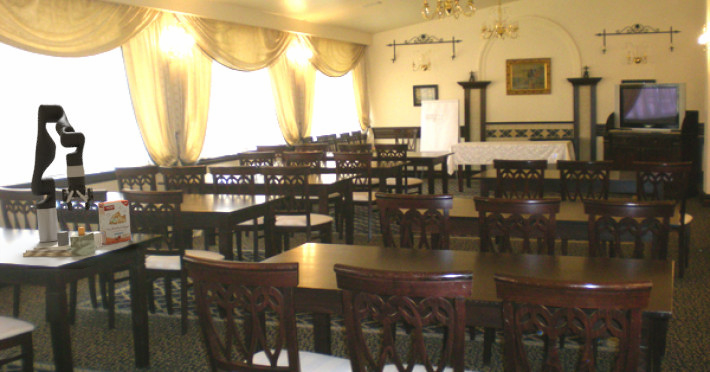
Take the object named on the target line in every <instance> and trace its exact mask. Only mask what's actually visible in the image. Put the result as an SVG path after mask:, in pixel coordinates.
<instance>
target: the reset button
mask: <svg viewBox="0 0 710 372" xmlns="http://www.w3.org/2000/svg"><path fill="white" fill-rule="evenodd" d="M77 232H78V234H79V235H85V233H86V229H85V226H81V227H80V226H79V227H78V228H77Z"/></svg>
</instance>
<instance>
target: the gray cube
mask: <svg viewBox="0 0 710 372" xmlns="http://www.w3.org/2000/svg"><path fill="white" fill-rule="evenodd" d="M69 235H70V234H69V230H65V231H64V230H62V231H59V233H57V240H56V241H57V244H54V245H51V246H49V247H50V250H68V249H70V248H71V243H70V236H69Z"/></svg>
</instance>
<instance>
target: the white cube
mask: <svg viewBox="0 0 710 372" xmlns="http://www.w3.org/2000/svg"><path fill="white" fill-rule="evenodd" d="M88 233H94V244H95V248H100V247H102V244H101V232H100V230H99V231H98V230H97V231H89V232H88Z"/></svg>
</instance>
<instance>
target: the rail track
mask: <svg viewBox="0 0 710 372" xmlns="http://www.w3.org/2000/svg"><path fill="white" fill-rule="evenodd" d="M69 243H71V248H70V249H68V250H50V247H51V246H42V247H41V246H40V247H39V246H37V247H36V246H35V247H33V249H25V252H22V257H85V256H87V255H90V254H92V253H94V252H95V251H96V247H95V244H94V233H89V232H85V235H79V233H78V234H74V235H71V236H69Z"/></svg>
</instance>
